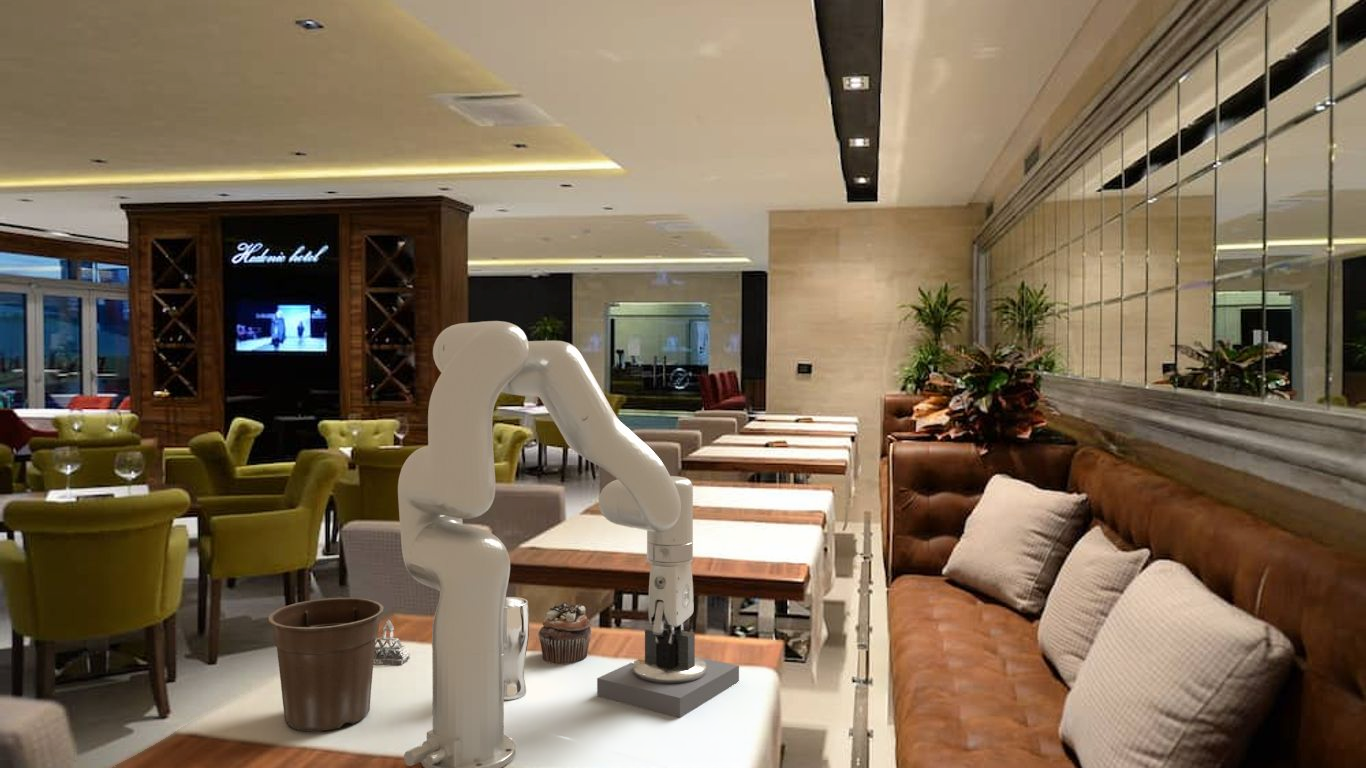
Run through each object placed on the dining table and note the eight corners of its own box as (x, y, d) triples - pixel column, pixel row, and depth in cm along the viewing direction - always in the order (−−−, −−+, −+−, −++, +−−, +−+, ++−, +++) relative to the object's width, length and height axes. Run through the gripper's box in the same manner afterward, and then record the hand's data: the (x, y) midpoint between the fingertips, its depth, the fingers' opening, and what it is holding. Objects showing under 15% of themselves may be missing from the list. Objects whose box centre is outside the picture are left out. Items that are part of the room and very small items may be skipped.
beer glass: (519, 703, 145) (519, 608, 145) (478, 699, 147) (478, 606, 146) (535, 688, 152) (535, 597, 152) (495, 684, 154) (495, 595, 153)
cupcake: (596, 651, 172) (596, 598, 171) (583, 668, 162) (583, 611, 162) (547, 649, 173) (547, 596, 173) (531, 665, 164) (531, 609, 163)
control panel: (680, 717, 140) (680, 696, 139) (597, 696, 148) (597, 676, 148) (738, 683, 155) (739, 664, 155) (660, 666, 163) (660, 648, 163)
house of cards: (430, 653, 172) (430, 612, 171) (411, 668, 163) (411, 625, 163) (384, 651, 173) (384, 610, 173) (363, 666, 164) (362, 623, 164)
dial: (718, 665, 154) (718, 626, 154) (685, 687, 143) (685, 646, 143) (655, 654, 159) (655, 617, 159) (619, 675, 149) (619, 635, 149)
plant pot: (376, 733, 133) (376, 623, 133) (257, 742, 130) (256, 629, 130) (389, 694, 149) (388, 595, 149) (283, 701, 146) (282, 600, 146)
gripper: (675, 564, 142) (675, 682, 142) (706, 544, 158) (705, 651, 158) (630, 560, 144) (630, 677, 145) (664, 541, 160) (664, 647, 160)
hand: (669, 662), depth 151 cm, fingers closed on dial, 3 cm apart
